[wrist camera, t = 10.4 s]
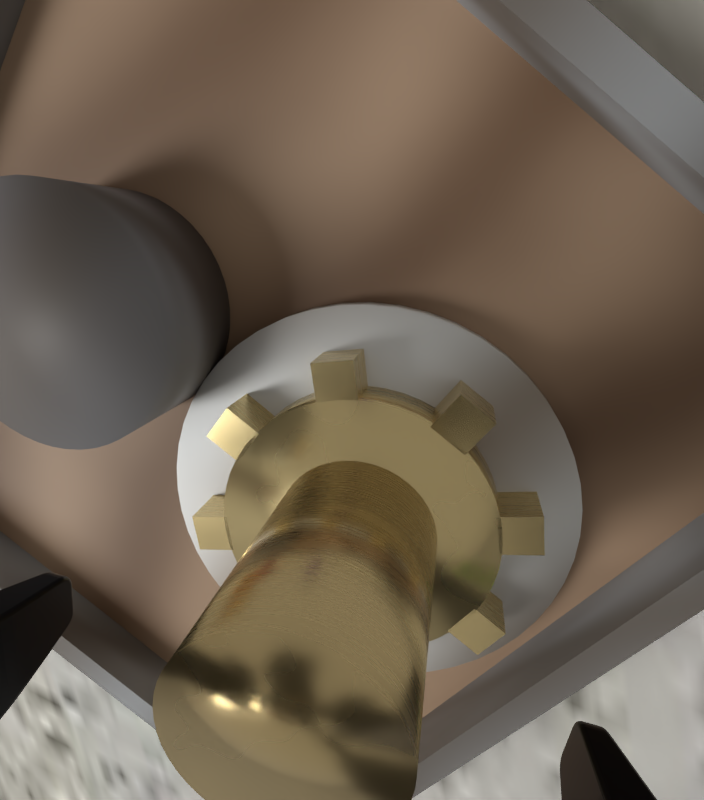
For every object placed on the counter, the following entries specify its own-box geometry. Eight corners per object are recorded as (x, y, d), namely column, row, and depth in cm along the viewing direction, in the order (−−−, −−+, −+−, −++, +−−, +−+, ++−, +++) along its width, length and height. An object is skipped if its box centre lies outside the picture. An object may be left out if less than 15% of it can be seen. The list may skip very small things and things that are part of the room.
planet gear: (617, 509, 12) (785, 806, 6) (388, 691, 15) (335, 1007, 9) (333, 274, 12) (183, 315, 5) (161, 510, 15) (-56, 706, 9)
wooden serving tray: (899, 355, 12) (1145, 422, 7) (340, 769, 20) (306, 913, 15) (156, -287, 11) (-35, -616, 7) (-107, 417, 19) (-269, 468, 15)
